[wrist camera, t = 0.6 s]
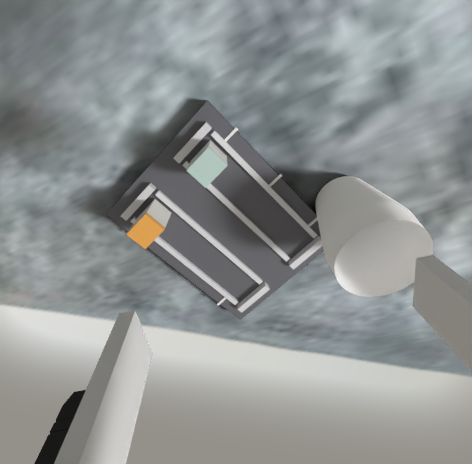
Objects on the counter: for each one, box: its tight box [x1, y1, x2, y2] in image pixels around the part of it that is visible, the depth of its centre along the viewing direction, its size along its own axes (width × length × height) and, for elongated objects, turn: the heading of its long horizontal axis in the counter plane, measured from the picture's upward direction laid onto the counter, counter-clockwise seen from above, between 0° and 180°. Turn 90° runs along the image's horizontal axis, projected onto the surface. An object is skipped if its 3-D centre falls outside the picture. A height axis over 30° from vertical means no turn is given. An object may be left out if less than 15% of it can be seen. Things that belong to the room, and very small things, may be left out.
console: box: [106, 101, 324, 320], centre depth 38 cm, size 22×18×3 cm
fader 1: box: [126, 199, 171, 249], centre depth 34 cm, size 2×3×5 cm
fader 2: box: [186, 140, 228, 188], centre depth 31 cm, size 2×3×5 cm
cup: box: [315, 176, 433, 297], centre depth 33 cm, size 9×9×12 cm
